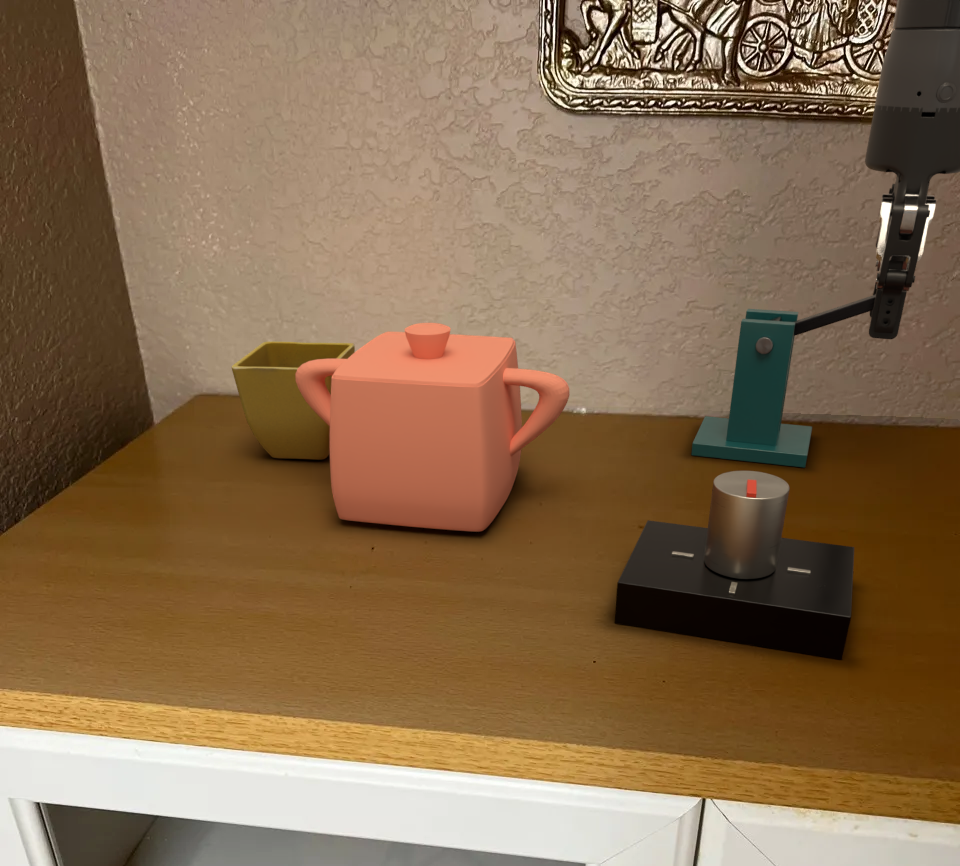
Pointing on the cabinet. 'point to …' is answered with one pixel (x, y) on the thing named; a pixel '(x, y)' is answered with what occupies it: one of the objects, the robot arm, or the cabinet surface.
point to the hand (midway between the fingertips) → (882, 327)
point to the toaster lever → (833, 315)
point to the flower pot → (285, 397)
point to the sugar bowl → (428, 425)
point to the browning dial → (745, 524)
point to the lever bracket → (758, 398)
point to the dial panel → (738, 593)
